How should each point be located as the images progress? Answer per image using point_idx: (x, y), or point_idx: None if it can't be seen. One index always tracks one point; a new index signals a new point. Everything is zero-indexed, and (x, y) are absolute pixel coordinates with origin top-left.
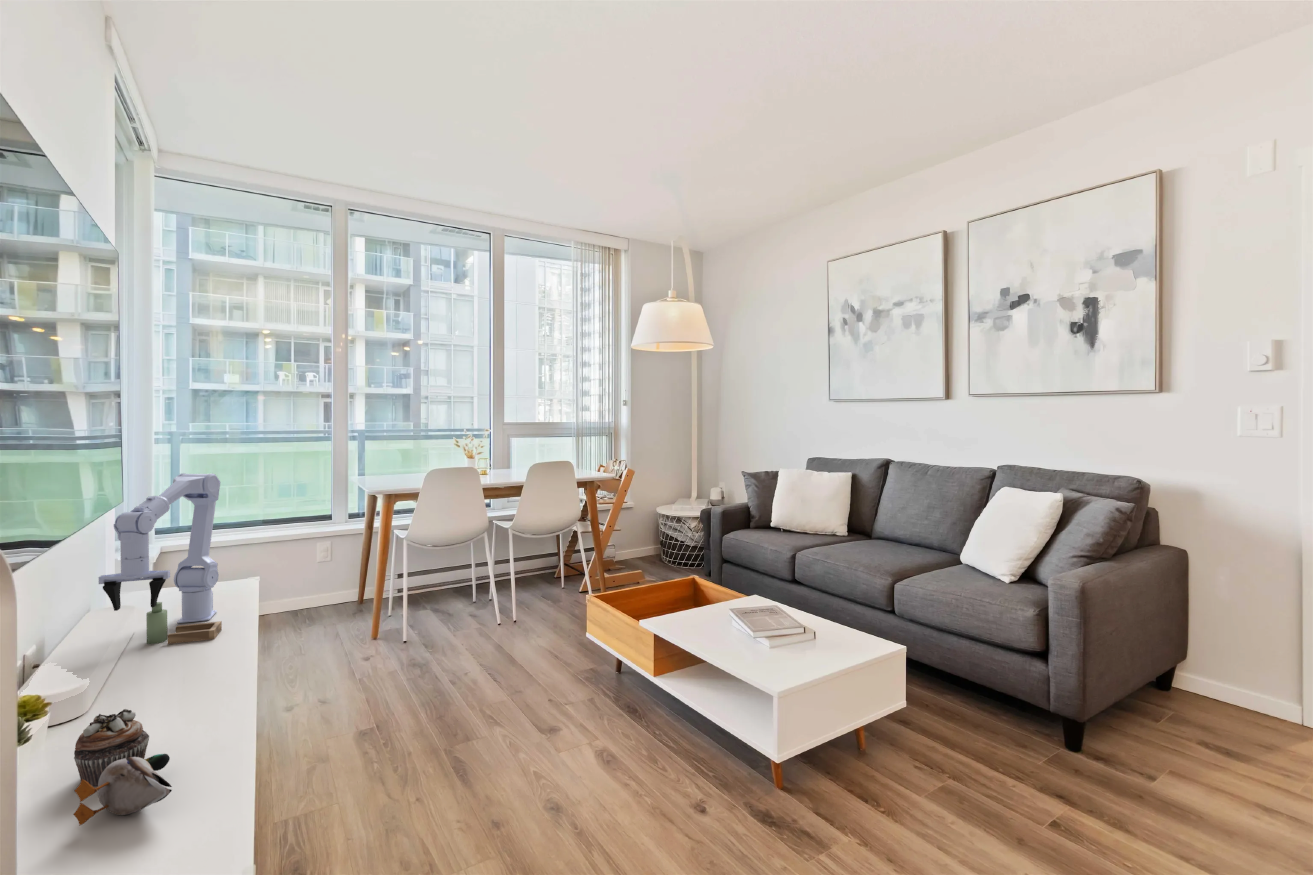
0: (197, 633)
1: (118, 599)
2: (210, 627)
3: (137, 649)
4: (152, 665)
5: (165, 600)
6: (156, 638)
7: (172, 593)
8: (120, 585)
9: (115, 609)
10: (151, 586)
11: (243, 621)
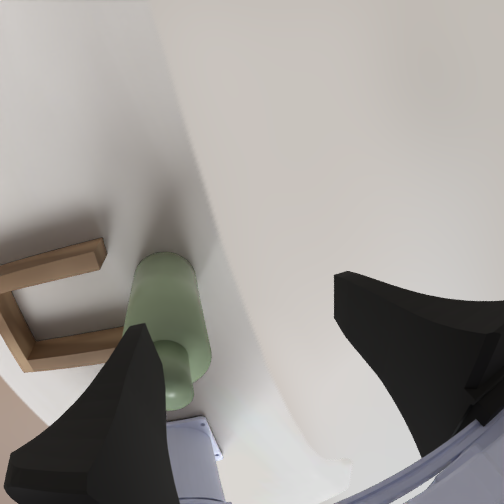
0: (13, 270)
1: (371, 339)
2: (42, 349)
3: (184, 192)
4: (53, 16)
5: (305, 486)
6: (149, 262)
7: (307, 499)
8: (416, 434)
9: (346, 273)
10: (86, 445)
11: (34, 403)
